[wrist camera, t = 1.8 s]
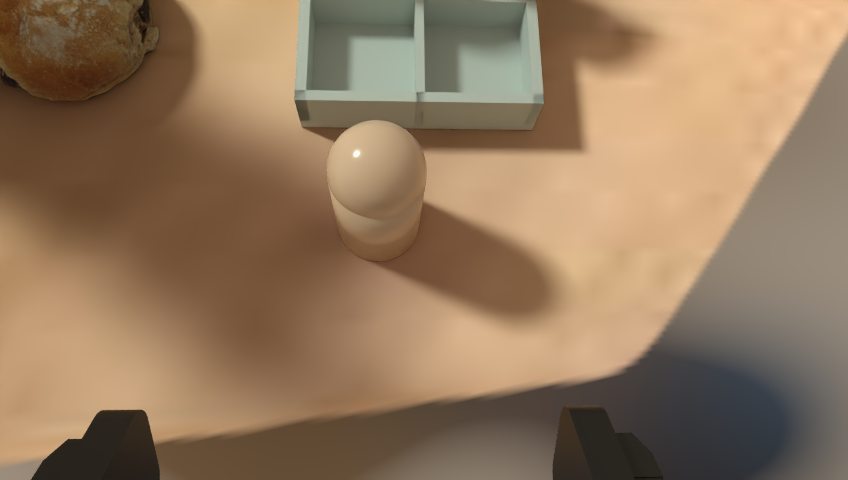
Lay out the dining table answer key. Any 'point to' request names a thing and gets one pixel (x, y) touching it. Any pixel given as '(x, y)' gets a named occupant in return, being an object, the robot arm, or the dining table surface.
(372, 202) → the cream dome-topped cylinder
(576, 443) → the robot arm
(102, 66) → the bread roll
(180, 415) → the dining table surface
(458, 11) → the carton
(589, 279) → the dining table surface
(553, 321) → the dining table surface
